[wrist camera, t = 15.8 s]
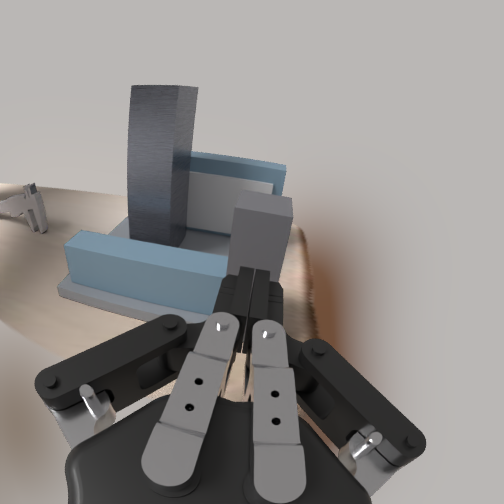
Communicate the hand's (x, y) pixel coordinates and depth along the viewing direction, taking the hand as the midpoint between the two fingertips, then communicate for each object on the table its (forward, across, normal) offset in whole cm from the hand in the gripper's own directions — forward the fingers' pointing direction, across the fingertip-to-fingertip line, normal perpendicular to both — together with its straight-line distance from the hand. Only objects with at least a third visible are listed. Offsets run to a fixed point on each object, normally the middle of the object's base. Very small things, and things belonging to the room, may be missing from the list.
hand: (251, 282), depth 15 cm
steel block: (+12, +9, +6) cm, 16 cm away
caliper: (+12, +35, +8) cm, 38 cm away
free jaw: (+4, +6, +6) cm, 10 cm away
